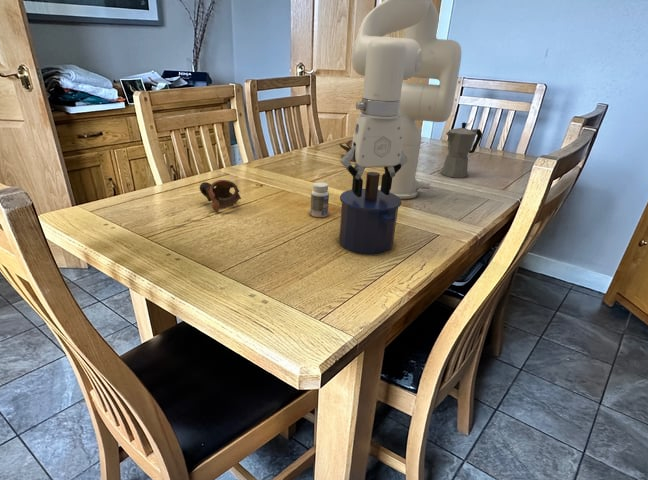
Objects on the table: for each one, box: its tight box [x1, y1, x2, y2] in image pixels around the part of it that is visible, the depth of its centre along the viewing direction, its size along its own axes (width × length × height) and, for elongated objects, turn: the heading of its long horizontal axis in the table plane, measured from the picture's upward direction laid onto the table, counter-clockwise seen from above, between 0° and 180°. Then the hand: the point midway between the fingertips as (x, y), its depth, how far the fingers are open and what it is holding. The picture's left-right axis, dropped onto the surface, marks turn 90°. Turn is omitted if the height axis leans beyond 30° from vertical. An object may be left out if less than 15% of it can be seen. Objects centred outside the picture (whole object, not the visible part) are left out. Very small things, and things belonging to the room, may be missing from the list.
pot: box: [338, 202, 399, 256], centre depth 102 cm, size 13×18×10 cm
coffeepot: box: [440, 122, 483, 179], centre depth 155 cm, size 15×9×18 cm, turn 113°
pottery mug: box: [199, 179, 242, 213], centre depth 119 cm, size 12×10×8 cm
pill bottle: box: [310, 181, 330, 218], centre depth 117 cm, size 5×5×8 cm
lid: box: [339, 171, 402, 212], centre depth 97 cm, size 14×14×7 cm
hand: (371, 193), depth 98 cm, fingers open, 6 cm apart
